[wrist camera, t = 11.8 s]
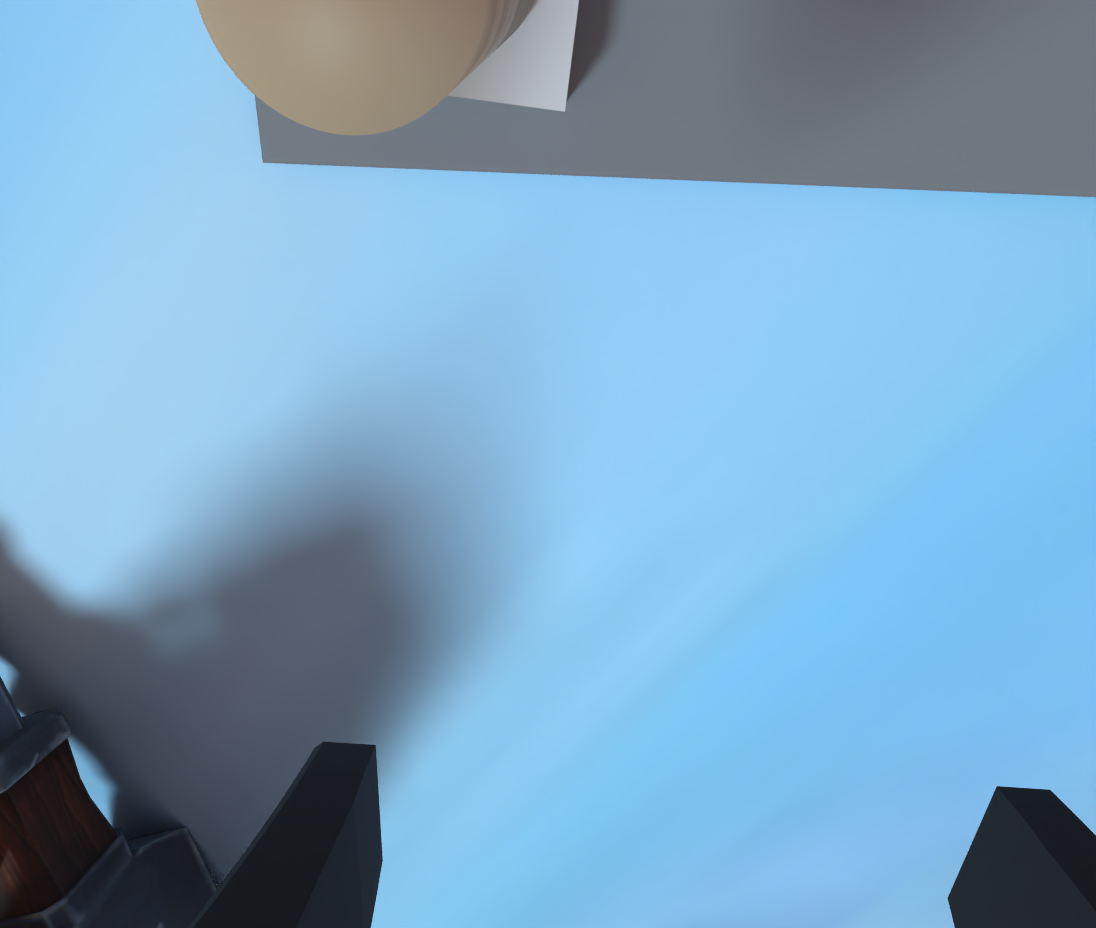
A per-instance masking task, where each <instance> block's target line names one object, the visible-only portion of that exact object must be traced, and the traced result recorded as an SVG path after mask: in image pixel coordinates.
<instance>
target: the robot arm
mask: <svg viewBox="0 0 1096 928" xmlns="http://www.w3.org/2000/svg"><path fill="white" fill-rule="evenodd" d="M382 861H383V859H382V843H381V827H380V810H379V794H378V778H377V761H376V745H364V744H349V743H334V742H323V743H321V744H320V745H318V746H317V747H316V748H314V750H313V751H312V753H311V755H310V756H309V758H308V760H307V761H306V763H305V765H304V766H303V768H302V769H301V771H300V772H299V774H298V776H297V777H296V779H295V780H294V782H293V783H292V785H291V786H290V788H289V789H288V791H287V792H286V794H285V795H284V797H283V798H282V800H281V801H280V803H279V804H278V806H277V807H276V809H275V810H274V812H273V813H272V815H271V816H270V818H269V819H268V820H267V822H266V823H265V825H264V826H263V827H262V829H261V830H260V832H259V833H258V835H257V836H256V837H255V839H254V840H253V842H252V843H251V844H250V846H249V847H248V849H247V850H246V851H245V853H244V854H243V855H242V857H241V858H240V859H239V861H238V862H237V863H236V865H235V866H234V867H233V869H232V870H231V871H230V873H229V874H228V875H227V877H226V878H225V879H224V881H223V882H222V883H221V885H220V886H219V887H218V889H217V890H216V891H215V893H214V894H213V895H212V897H211V898H210V899H209V901H208V902H207V903H206V905H205V906H204V907H203V908H202V910H201V911H200V912H199V914H198V915H197V916H196V917H195V919H194V920H193V921H192V922H191V924H190V925H189V926H188V927H187V928H371V923H372V917H373V912H374V906H375V901H376V895H377V889H378V884H379V878H380V872H381V866H382ZM948 901H949V905H950V909H951V913H952V917H953V922H954V926H955V928H1096V835H1095V834H1094V833H1093V832H1092V831H1091V830H1090V829H1089V828H1088V827H1087V826H1086V825H1085V824H1084V823H1083V822H1082V821H1081V820H1080V819H1079V818H1078V817H1077V816H1076V815H1075V814H1074V813H1073V812H1072V811H1071V810H1070V809H1069V808H1068V807H1067V806H1066V805H1065V804H1064V803H1063V802H1062V801H1061V800H1060V799H1059V798H1058V797H1057V796H1056V795H1055V794H1054V793H1053V792H1052V791H1051V790H1044V789H1029V788H1014V787H999V786H997V787H996V790H995V792H994V794H993V796H992V799H991V801H990V803H989V805H988V808H987V810H986V812H985V815H984V817H983V819H982V821H981V824H980V826H979V828H978V830H977V833H976V835H975V837H974V840H973V842H972V844H971V846H970V849H969V851H968V853H967V855H966V858H965V860H964V862H963V865H962V867H961V869H960V871H959V874H958V876H957V878H956V880H955V883H954V885H953V887H952V890H951V892H950V894H949V896H948Z"/></svg>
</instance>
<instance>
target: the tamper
mask: <svg viewBox="0 0 1096 928" xmlns="http://www.w3.org/2000/svg"><path fill="white" fill-rule="evenodd" d="M196 2H197V5H198V8H199V11H200V14H201V17H202V19H203V22H204V24H205V26H206V28H207V31H208V33H209V35H210V37H211V39H212V41H213V43H214V44H215V46H216V48H217V49H218V51H219V53H220V54H221V56H222V57H223V59H224V61H225V62H226V63H227V65H228V66H229V67H230V68H231V70H232V71H233V72H234V74H235V75H236V76H237V77H238V78H239V79H240V81H241V82H242V83H243V84H244V85H245V86H246V87H247V88H248V89H249V90H250V91H251V92H252V93H253V94H255V95H256V96H257V97H258V98H259V99H261V100H262V101H263V102H264V103H265V104H267V105H268V106H269V107H271V108H272V109H274V110H276V111H277V112H279V113H280V114H282V115H283V116H285V117H287V118H289V119H291V120H293V121H295V122H297V123H299V124H301V125H304V126H307V127H310V128H313V129H316V130H319V131H323V132H328V133H333V134H339V135H353V136H357V135H371V134H377V133H382V132H386V131H391V130H393V129H396V128H399V127H401V126H404V125H407V124H408V123H410V122H412V121H414V120H416V119H418V118H419V117H421V116H423V115H424V114H425V113H427V112H428V111H429V110H431V109H432V108H433V107H435V106H436V105H437V104H438V103H439V102H440V101H442V100H443V99H444V98H445V97H446V96H455V97H462V98H469V99H476V100H484V101H491V102H498V103H505V104H513V105H520V106H527V107H534V108H541V109H549V110H556V111H563V112H565V107H566V99H567V91H568V83H569V75H570V68H571V60H572V52H573V44H574V36H575V28H576V20H577V12H578V4H579V0H196Z"/></svg>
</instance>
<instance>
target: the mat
mask: <svg viewBox="0 0 1096 928" xmlns="http://www.w3.org/2000/svg"><path fill="white" fill-rule="evenodd" d="M255 101H256V109H257V117H258V125H259V134H260V142H261V150H262V159H263V163H285V164H309V165H333V166H357V167H381V168H405V169H430V170H454V171H478V172H502V173H526V174H551V175H575V176H599V177H623V178H647V179H671V180H696V181H720V182H744V183H768V184H792V185H816V186H841V187H865V188H889V189H913V190H937V191H961V192H986V193H1010V194H1034V195H1058V196H1082V197H1096V0H579V4H578V12H577V20H576V28H575V36H574V44H573V52H572V60H571V68H570V75H569V83H568V91H567V99H566V107H565V112H563V111H556V110H549V109H541V108H534V107H527V106H520V105H513V104H505V103H498V102H491V101H484V100H476V99H469V98H462V97H455V96H446V97H445V98H444V99H443V100H442V101H440V102H439V103H438V104H437V105H436V106H435V107H433V108H432V109H431V110H429V111H428V112H427V113H425V114H424V115H423V116H421V117H419V118H418V119H416V120H414V121H412V122H410V123H408V124H407V125H404V126H401V127H399V128H396V129H393V130H391V131H386V132H382V133H377V134H371V135H357V136H353V135H339V134H333V133H328V132H323V131H319V130H316V129H313V128H310V127H307V126H304V125H301V124H299V123H297V122H295V121H293V120H291V119H289V118H287V117H285V116H283V115H282V114H280V113H279V112H277V111H276V110H274V109H272V108H271V107H269V106H268V105H267V104H265V103H264V102H263V101H262V100H261V99H259V98H258V97H257V96H256V95H255Z"/></svg>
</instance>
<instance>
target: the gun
mask: <svg viewBox="0 0 1096 928" xmlns="http://www.w3.org/2000/svg"><path fill="white" fill-rule="evenodd" d="M70 735H71V729H70V727H69V725H68V723H67V721H66V719H65V717H64V715H63V713H62V711H57V710H46V711H42V712H38V713H35V714H31V715H27V716H24V717H21V716H20V714H19V712H18V710H17V708H16V706H15V704H14V702H13V700H12V698H11V696H10V694H9V692H8V690H7V689H6V687H5V685H4V683H3V681H2V679H1V677H0V928H187V927H188V926H189V925H190V924H191V922H192V921H193V920H194V919H195V917H196V916H197V915H198V914H199V912H200V911H201V910H202V908H203V907H204V906H205V905H206V903H207V902H208V901H209V899H210V898H211V897H212V895H213V894H214V893H215V891H216V890H217V889H216V887H215V884H214V882H213V880H212V878H211V876H210V874H209V872H208V870H207V868H206V866H205V864H204V862H203V860H202V857H201V855H200V853H199V851H198V849H197V847H196V845H195V843H194V841H193V839H192V837H191V835H190V833H189V831H188V828H187V827H184V828H180V829H176V830H171V831H167V832H163V833H158V834H154V835H150V836H146V837H141V838H137V839H133V840H129V841H126V839H125V837H124V835H123V833H122V831H121V829H120V828H116V829H113V827H112V826H111V825H110V823H109V822H108V821H107V819H106V818H105V817H104V815H103V814H102V813H101V811H100V810H99V808H98V807H97V806H96V804H95V803H94V802H93V800H92V799H91V798H90V796H89V794H88V792H87V790H86V788H85V786H84V784H83V782H82V780H81V778H80V776H79V772H78V769H77V766H76V763H75V760H74V757H73V754H72V751H71V748H70V745H69V742H68V737H69V736H70Z"/></svg>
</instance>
